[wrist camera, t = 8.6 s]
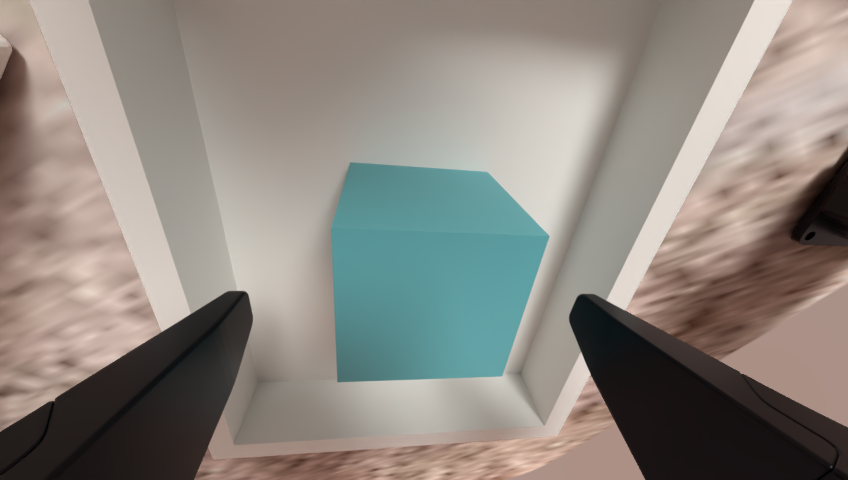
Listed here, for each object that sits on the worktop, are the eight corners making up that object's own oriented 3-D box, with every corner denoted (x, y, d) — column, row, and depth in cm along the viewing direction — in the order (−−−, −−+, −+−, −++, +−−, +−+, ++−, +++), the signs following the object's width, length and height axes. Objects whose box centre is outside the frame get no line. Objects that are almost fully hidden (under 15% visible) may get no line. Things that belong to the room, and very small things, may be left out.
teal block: (487, 171, 12) (549, 236, 7) (464, 280, 14) (502, 376, 10) (350, 162, 11) (330, 227, 7) (351, 278, 13) (337, 382, 9)
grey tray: (692, -61, 10) (861, -127, 6) (525, 369, 19) (557, 436, 16) (107, -188, 7) (-134, -407, 4) (247, 378, 17) (213, 459, 14)
